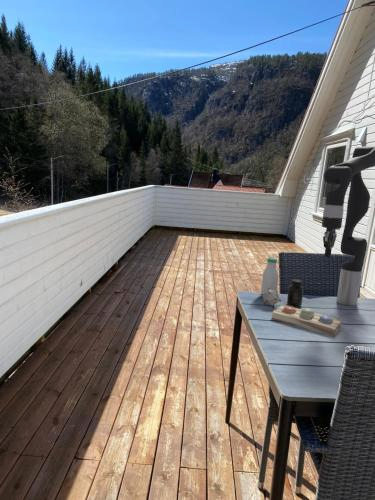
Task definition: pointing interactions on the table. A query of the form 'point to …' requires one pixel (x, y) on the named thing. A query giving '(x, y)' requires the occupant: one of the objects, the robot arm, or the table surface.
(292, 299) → the supplement bottle
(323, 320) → the slate button
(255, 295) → the table surface
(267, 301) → the game die
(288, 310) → the terracotta button
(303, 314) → the sage button
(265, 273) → the milk bottle
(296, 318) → the button panel
